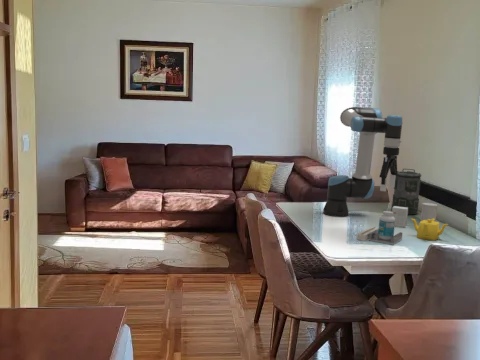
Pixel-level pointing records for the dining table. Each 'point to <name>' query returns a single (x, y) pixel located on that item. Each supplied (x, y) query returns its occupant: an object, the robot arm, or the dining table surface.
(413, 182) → the canister
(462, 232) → the dining table surface
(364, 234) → the door edge
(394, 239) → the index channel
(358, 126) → the robot arm
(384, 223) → the pill bottle
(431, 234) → the teapot
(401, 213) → the small box
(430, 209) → the cup
